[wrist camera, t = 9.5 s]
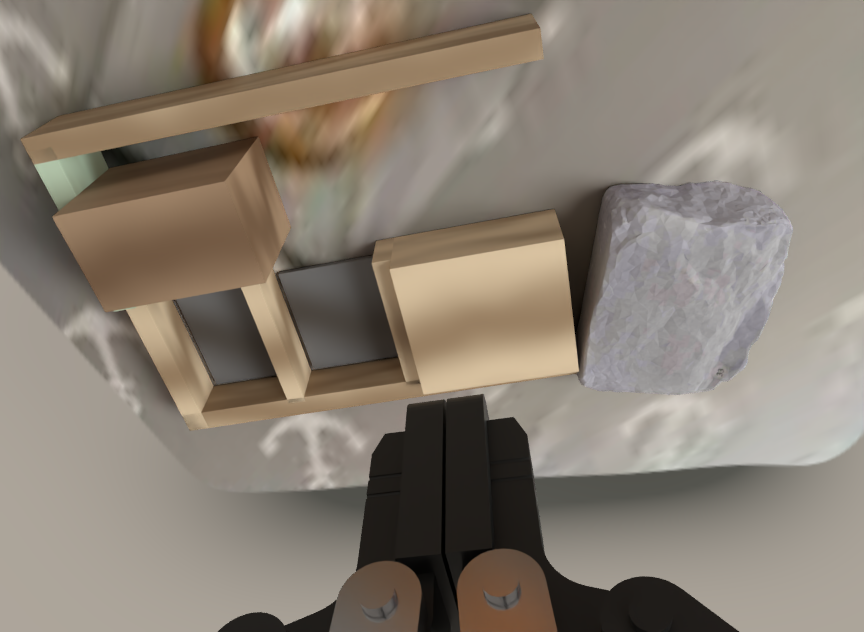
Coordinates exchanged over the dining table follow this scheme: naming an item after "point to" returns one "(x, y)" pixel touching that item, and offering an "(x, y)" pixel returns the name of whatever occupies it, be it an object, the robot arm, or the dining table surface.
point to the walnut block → (177, 225)
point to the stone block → (678, 286)
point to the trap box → (349, 279)
